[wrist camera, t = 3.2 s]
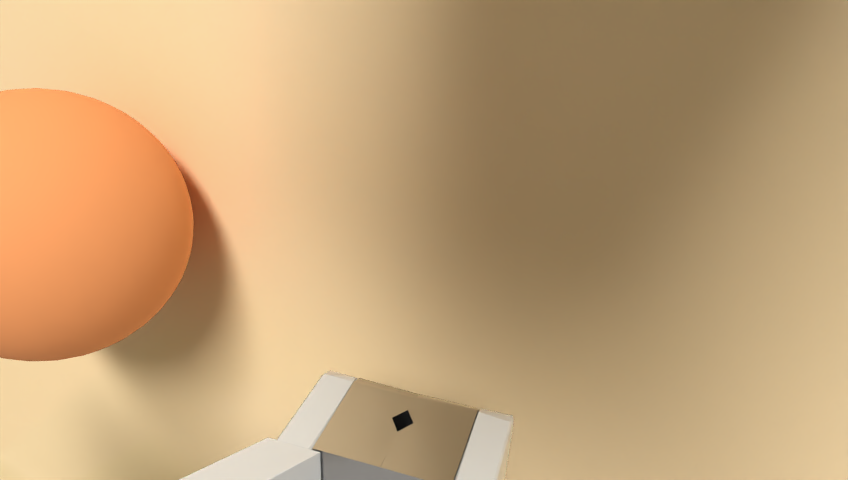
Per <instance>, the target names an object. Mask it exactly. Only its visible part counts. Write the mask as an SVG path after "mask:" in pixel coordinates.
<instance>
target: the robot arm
mask: <svg viewBox="0 0 848 480" xmlns="http://www.w3.org/2000/svg"><path fill="white" fill-rule="evenodd" d="M513 425H514V417H513V416H512V415H508V414H503V413H499V412H494V411H490V410H486V409H479V408H475V407H471V406H467V405H463V404H459V403H454V402H450V401H446V400H442V399H438V398H434V397H429V396H425V395H421V394H416V393H413V392H409V391H405V390H402V389H398V388H394V387H391V386H387V385H383V384H380V383H376V382H373V381H369V380H365V379H362V378H355V377H351V376H348V375H344V374H341V373H337V372H334V371H328V372H327V373H325V374H323V375H322V376H321V378H320V379H319V380H318V382H317V383H316V385H315V386H314V388H313V389H312V390H311V392H310V393H309V395H308V396H307V397H306V399H305V400H304V402H303V403H302V405H301V406H300V407H299V409H298V410H297V412H296V413H295V414H294V416H293V417H292V419H291V420H290V422H289V423H288V424H287V426H286V427H285V429H284V430H283V431H282V433H281V434H280V436H279V437H278V439H277V440H275V439H271V438H266V439H264V440H262V441H260V442H257V443H255V444H253V445H251V446H249V447H247V448H245V449H243V450H240V451H238V452H236V453H234V454H232V455H230V456H228V457H226V458H224V459H221V460H219V461H217V462H215V463H213V464H211V465H209V466H207V467H205V468H202V469H200V470H198V471H196V472H194V473H192V474H190V475H188V476H185V477H183V478H181V479H179V480H505V476H506V470H507V463H508V457H509V450H510V444H511V437H512V431H513Z"/></svg>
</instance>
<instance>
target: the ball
mask: <svg viewBox="0 0 848 480" xmlns="http://www.w3.org/2000/svg"><path fill="white" fill-rule="evenodd" d="M193 227H194V222H193V211H192V205H191V200H190V196H189V193H188V189H187V186H186V183H185V181H184V178H183V176H182V174H181V172H180V170H179V168H178V166H177V164H176V163H175V161H174V160H173V158H172V157H171V155H170V154H169V152H168V151H167V150H166V149H165V147H164V146H163V145H162V144H161V143H160V141H159V140H158V139H157V138H156V137H155V136H154V135H153V134H152V133H150V132H149V131H148V130H147V129H146V128H145V127H143V126H142V125H141V124H140V123H139V122H137V121H136V120H134V119H133V118H132V117H130V116H129V115H127V114H125V113H124V112H122V111H120V110H118V109H116V108H114V107H112V106H110V105H108V104H106V103H104V102H101V101H99V100H96V99H94V98H90V97H87V96H83V95H79V94H75V93H72V92H68V91H60V90H50V89H40V88H33V89H15V90H6V91H1V92H0V357H1V358H6V359H13V360H23V361H51V360H61V359H67V358H72V357H77V356H82V355H86V354H89V353H92V352H95V351H98V350H101V349H103V348H106V347H108V346H110V345H112V344H114V343H117V342H119V341H121V340H123V339H124V338H126V337H127V336H129V335H130V334H132V333H133V332H135V331H136V330H138V329H139V328H141V327H142V326H143V325H145V324H146V323H147V322H148V321H149V320H150V319H151V318H152V317H153V316H154V315H155V314H156V313H157V312H158V311H159V310H160V309H161V308H162V307H163V306H164V305H165V303H166V302H167V301H168V300H169V298H170V297H171V296H172V294H173V292H174V291H175V289H176V288H177V286H178V284H179V282H180V280H181V278H182V276H183V274H184V272H185V269H186V267H187V263H188V260H189V257H190V253H191V248H192V241H193Z"/></svg>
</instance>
